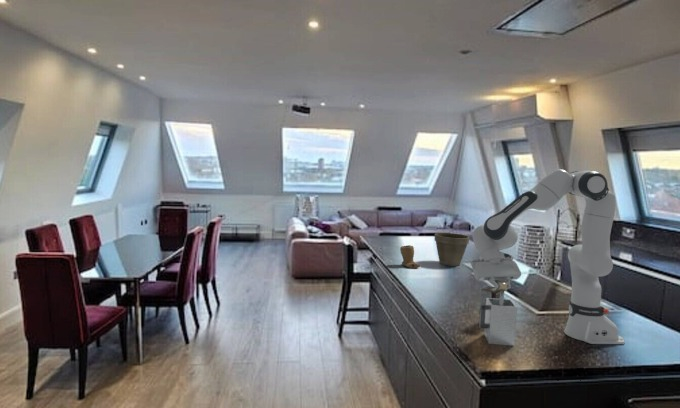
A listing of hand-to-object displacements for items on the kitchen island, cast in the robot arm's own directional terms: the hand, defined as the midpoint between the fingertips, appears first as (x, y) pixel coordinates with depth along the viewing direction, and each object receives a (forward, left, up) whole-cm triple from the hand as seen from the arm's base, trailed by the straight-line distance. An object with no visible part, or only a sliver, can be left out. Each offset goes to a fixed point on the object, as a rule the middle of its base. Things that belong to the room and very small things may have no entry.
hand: (503, 288), depth 178 cm
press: (+2, -1, -22) cm, 22 cm away
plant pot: (+3, -144, -22) cm, 145 cm away
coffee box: (0, -21, -22) cm, 30 cm away
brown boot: (+34, -127, -22) cm, 133 cm away
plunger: (0, -1, -20) cm, 20 cm away
